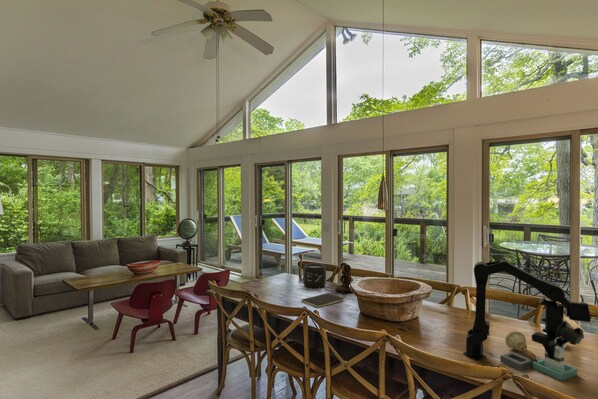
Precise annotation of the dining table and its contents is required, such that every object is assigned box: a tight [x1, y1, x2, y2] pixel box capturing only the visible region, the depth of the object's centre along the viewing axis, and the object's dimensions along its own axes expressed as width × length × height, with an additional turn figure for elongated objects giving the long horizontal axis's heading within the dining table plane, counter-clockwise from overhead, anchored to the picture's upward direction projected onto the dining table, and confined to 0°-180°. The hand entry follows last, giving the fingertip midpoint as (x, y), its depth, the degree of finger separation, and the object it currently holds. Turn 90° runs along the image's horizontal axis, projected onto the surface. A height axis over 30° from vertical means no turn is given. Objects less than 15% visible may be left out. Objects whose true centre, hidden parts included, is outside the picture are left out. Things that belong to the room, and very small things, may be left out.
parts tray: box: [532, 357, 578, 382], centre depth 127 cm, size 10×10×2 cm
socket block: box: [499, 351, 534, 372], centre depth 134 cm, size 8×8×2 cm
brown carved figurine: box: [335, 262, 352, 294], centre depth 241 cm, size 15×15×20 cm
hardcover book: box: [301, 292, 345, 308], centre depth 217 cm, size 16×23×2 cm
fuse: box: [543, 346, 565, 371], centre depth 127 cm, size 3×5×8 cm, turn 24°
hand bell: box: [504, 331, 538, 362], centre depth 139 cm, size 8×8×16 cm
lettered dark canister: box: [302, 263, 327, 290], centre depth 255 cm, size 18×18×16 cm
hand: (554, 357), depth 127 cm, fingers closed on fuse, 3 cm apart
